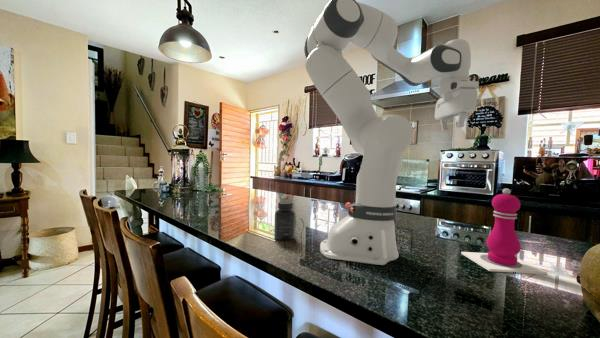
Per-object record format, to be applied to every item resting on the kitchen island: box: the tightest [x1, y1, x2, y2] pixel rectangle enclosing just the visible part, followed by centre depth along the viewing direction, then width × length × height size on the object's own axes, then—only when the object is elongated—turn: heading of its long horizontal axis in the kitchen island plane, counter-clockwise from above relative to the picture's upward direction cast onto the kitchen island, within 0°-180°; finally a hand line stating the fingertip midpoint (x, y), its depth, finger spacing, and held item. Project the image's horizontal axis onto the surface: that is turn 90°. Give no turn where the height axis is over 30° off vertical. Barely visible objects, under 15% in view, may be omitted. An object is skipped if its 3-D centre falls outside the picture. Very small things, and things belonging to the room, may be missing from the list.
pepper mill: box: [485, 187, 521, 266], centre depth 68 cm, size 7×7×20 cm
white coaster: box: [460, 251, 548, 275], centre depth 69 cm, size 14×12×1 cm
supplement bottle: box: [273, 201, 296, 242], centre depth 84 cm, size 7×7×12 cm
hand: (452, 129), depth 89 cm, fingers open, 8 cm apart
